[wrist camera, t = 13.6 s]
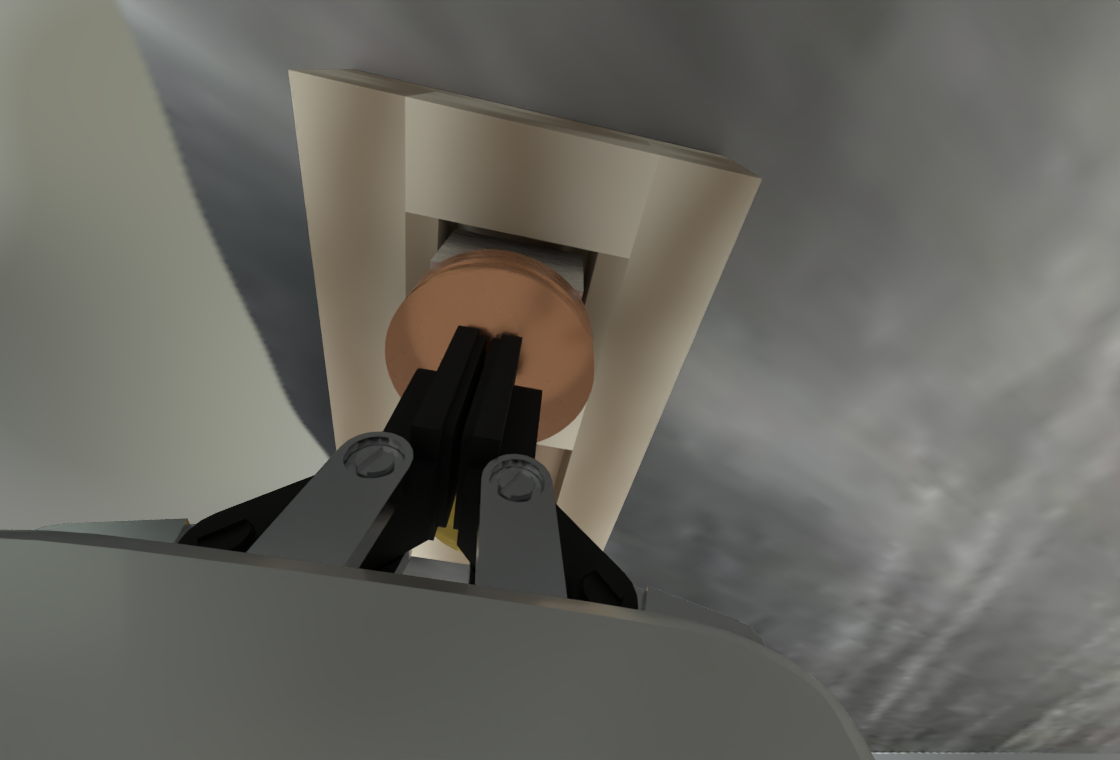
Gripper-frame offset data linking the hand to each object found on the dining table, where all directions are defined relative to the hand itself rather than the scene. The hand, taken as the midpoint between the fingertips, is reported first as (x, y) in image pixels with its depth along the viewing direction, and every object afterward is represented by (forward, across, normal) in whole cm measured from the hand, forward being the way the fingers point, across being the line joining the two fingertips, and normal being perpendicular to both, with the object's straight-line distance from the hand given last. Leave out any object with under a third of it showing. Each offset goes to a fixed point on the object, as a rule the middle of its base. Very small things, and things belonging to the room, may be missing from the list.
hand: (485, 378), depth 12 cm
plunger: (+5, 0, 0) cm, 5 cm away
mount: (+8, 0, +5) cm, 9 cm away
